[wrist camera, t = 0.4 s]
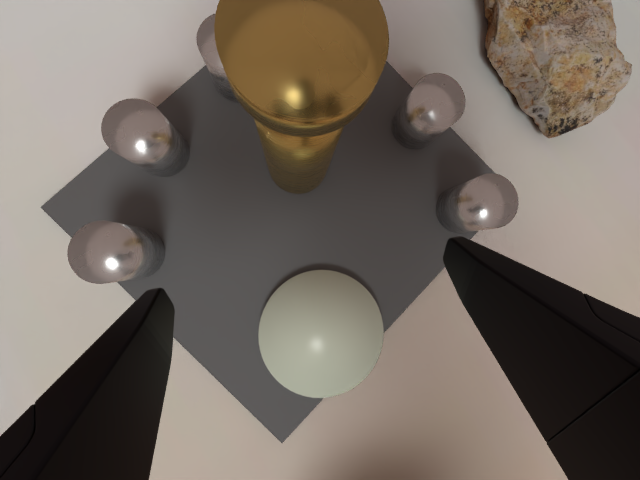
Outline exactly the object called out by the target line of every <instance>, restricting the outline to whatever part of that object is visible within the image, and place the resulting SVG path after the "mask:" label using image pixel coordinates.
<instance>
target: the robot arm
mask: <svg viewBox="0 0 640 480" xmlns="http://www.w3.org/2000/svg"><path fill="white" fill-rule="evenodd" d="M443 262H444V265H445V267H446V269H447V271H448V274H449V276H450V278H451V280H452V282H453V284H454V287H455V289H456V291H457V293H458V295H459V297H460V299H461V301H462V303H463V305H464V307H465V308H466V310H467V312H468V313H469V315H470V317H471V318H472V320H473V322H474V323H475V325H476V327H477V328H478V330H479V332H480V333H481V335H482V337H483V338H484V340H485V342H486V343H487V345H488V347H489V348H490V350H491V351H492V353H493V355H494V356H495V358H496V360H497V361H498V363H499V365H500V366H501V368H502V370H503V371H504V373H505V375H506V376H507V378H508V380H509V381H510V383H511V385H512V386H513V388H514V390H515V391H516V393H517V395H518V396H519V398H520V400H521V401H522V403H523V405H524V406H525V408H526V410H527V411H528V413H529V414H530V416H531V418H532V419H533V421H534V423H535V424H536V426H537V428H538V429H539V431H540V433H541V434H542V436H543V438H544V439H545V441H546V442H547V445H548V446H549V448H550V450H551V451H552V453H553V455H554V456H555V458H556V460H557V461H558V463H559V465H560V466H561V468H562V470H563V471H564V473H565V475H566V476H567V478H568V480H640V318H639V317H636V316H634V315H632V314H629V313H627V312H625V311H622V310H620V309H618V308H616V307H613V306H611V305H609V304H607V303H605V302H602V301H600V300H598V299H596V298H594V297H592V296H589V295H587V294H583V293H582V292H581V291H579V290H576V289H574V288H572V287H570V286H568V285H566V284H564V283H561V282H559V281H557V280H555V279H553V278H551V277H549V276H546V275H544V274H542V273H540V272H538V271H536V270H534V269H531V268H529V267H527V266H525V265H523V264H521V263H519V262H516V261H514V260H512V259H510V258H508V257H506V256H504V255H501V254H499V253H497V252H495V251H493V250H491V249H489V248H486V247H484V246H482V245H480V244H478V243H476V242H474V241H471V240H469V239H467V238H465V237H463V236H457V237H452V238H449V239H448V240H447V243H446V247H445V251H444V254H443ZM174 317H175V308H174V305H173V303H172V301H171V300H170V298H169V296H168V295H167V293H166V291H165V290H164V289H163V288H154V289H149V290H147V291H145V292H144V293H143V294H142V295H141V296H140V297H139V298H138V299H137V300H136V301H135V302H134V303H133V304H132V305H131V306H130V307H129V308H128V309H127V310H126V311H125V312H124V313H123V314H122V315H121V316H120V317H119V318H118V319H117V320H116V321H115V322H114V323H113V324H112V325H111V326H110V327H109V328H108V329H107V330H106V331H105V332H104V333H103V334H102V335H101V336H100V337H99V338H98V339H97V340H96V341H95V342H94V343H93V344H92V345H91V346H90V347H89V348H88V349H87V350H86V351H85V352H84V353H83V354H82V355H81V356H80V357H79V358H78V359H77V360H76V361H75V362H74V363H73V364H72V365H71V366H70V367H69V368H68V369H67V370H66V371H65V372H64V373H63V374H62V375H61V376H60V377H59V378H58V379H57V380H56V381H55V382H54V383H53V384H52V385H51V387H50V388H49V389H48V390H47V391H46V392H45V393H44V394H43V395H42V396H41V397H40V398H39V399H38V400H37V401H36V402H35V404H34V405H31V406H30V407H29V408H28V409H27V410H26V411H25V412H24V413H23V414H22V415H21V416H20V417H19V418H18V419H17V420H16V421H15V422H14V423H13V424H12V425H11V426H10V427H9V428H8V429H7V430H6V431H5V432H4V433H3V434H2V435H1V436H0V480H149V475H150V470H151V465H152V460H153V454H154V449H155V444H156V439H157V433H158V428H159V423H160V418H161V412H162V407H163V402H164V397H165V391H166V386H167V381H168V375H169V370H170V365H171V358H172V346H173V331H174Z"/></svg>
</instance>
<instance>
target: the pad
mask: <svg viewBox="0 0 640 480" xmlns="http://www.w3.org/2000/svg"><path fill="white" fill-rule="evenodd" d="M383 335H384V330H383V321H382V316H381V313H380V310H379V307H378V305H377V303H376V301H375V300H374V298H373V297H372V295H371V294H370V293H369V291H368V290H367V289H366V288H365V287H364V286H363V285H362V284H360V283H359V282H358V281H356V280H355V279H353V278H351V277H349V276H347V275H345V274H342V273H339V272H336V271H331V270H312V271H307V272H304V273H301V274H298V275H296V276H294V277H292V278H290V279H289V280H287V281H286V282H284V283H283V284H282V285H281V286H280V287H279V288H278V289H277V290H276V291H275V292H274V293H273V294H272V296H271V297H270V299H269V300H268V302H267V304H266V306H265V308H264V310H263V313H262V316H261V319H260V324H259V333H258V338H259V347H260V352H261V355H262V358H263V361H264V363H265V365H266V367H267V369H268V370H269V372H270V373H271V374H272V376H273V377H274V378H275V379H276V380H277V381H278V382H279V383H280V384H281V385H283V386H284V387H285V388H287V389H289V390H290V391H292V392H294V393H297V394H299V395H302V396H306V397H312V398H327V397H333V396H337V395H340V394H343V393H345V392H347V391H349V390H351V389H353V388H354V387H356V386H357V385H358V384H360V383H361V382H362V381H363V380H364V379H365V378H366V377H367V376H368V374H369V373H370V372H371V371H372V369H373V368H374V366H375V364H376V362H377V360H378V358H379V356H380V352H381V349H382V344H383Z"/></svg>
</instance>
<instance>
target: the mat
mask: <svg viewBox="0 0 640 480" xmlns="http://www.w3.org/2000/svg"><path fill="white" fill-rule="evenodd" d="M412 90H413V88H412V87H411V86H410V85H409V84H408V83H407V82H406V81H405V80H404V79H403V78H402V77H401V76H400V75H399V74H398V73H397V72H396V71H395V70H394V69H393V68H392V67H391V65H390V64H389V63H388V62H387V61H386V63H385V66H384V69H383V71H382V73H381V75H380V77H379V79H378V81H377V84H376V86H375V88H374V90H373V92H372V94H371V96H370V98H369V100H368V102H367V104H366V105H365V107H364V108H363V110H362V111H361V112H360V113H359V114H358V115H357V116H356V117H355V118H354V119H353V120H352V121H351V122H349V123H348V124H347V125H345V126H344V128H343V131H342V133H341V136H340V138H339V141H338V143H337V146H336V149H335V151H334V154H333V156H332V159H331V162H330V164H329V167H328V169H327V172H326V174H325V177H324V179H323V181H322V182H321V183H320V185H319V186H318V187H316V188H315V189H314V190H312V191H310V192H307V193H303V194H294V193H289V192H287V191H285V190H283V189H281V188H280V187H279V186H277V185H276V183H275V182H274V181H273V179H272V177H271V175H270V172H269V169H268V166H267V162H266V159H265V155H264V152H263V148H262V145H261V141H260V138H259V134H258V131H257V127H256V124H255V120H254V118H253V117H252V116H251V115H249V114H248V113H247V112H246V110H245V109H244V108H243V107H242V106H241V105H240V103H238V102H232V101H230V100H228V99H226V98H224V97H223V96H222V95H221V94H220V93H219V91H218V90H217V88H216V86H215V84H214V81H213V79H212V77H211V75H210V73H209V70H208V68H207V66H204V67H203V68H202V69H201V70H200V71H199V72H197V73H196V74H195V75H194V76H193V77H192V78H190V79H189V80H188V81H187V82H186V83H185V84H183V85H182V86H181V87H180V88H179V89H178V90H176V91H175V92H174V93H173V94H172V95H171V96H170V97H168V98H167V99H166V100H165V101H164V102H163V103H161V104H160V105H159V106H158V107H157V109H158V110H159V111H160V112H161V113H162V114H163V115H164V116H165V117H166V118H167V119H168V121H169V122H170V123H171V124H172V125H173V126H174V127H175V128H176V129H177V130H178V131H179V133H180V134H181V135H182V136H183V137H184V138H185V139H186V141H187V143H188V145H189V150H190V156H189V160H188V163H187V164H186V166H185V167H184V168H183V170H181V171H180V172H179V173H177V174H175V175H173V176H169V177H159V176H155V175H153V174H151V173H149V172H147V171H145V170H144V169H142V168H140V167H139V166H137V165H135V164H133V163H132V162H130V161H128V160H127V159H125V158H123V157H121V156H120V155H118V154H116V153H115V152H113V151H112V150H111V149H110V148H109V149H108V150H107V151H106V152H104V153H103V154H102V155H101V156H100V157H99V158H97V159H96V160H95V161H94V162H93V163H92V164H90V165H89V166H88V167H87V168H86V169H85V170H83V171H82V172H81V173H80V174H79V175H78V176H76V177H75V178H74V179H73V180H72V181H71V182H70V183H68V184H67V185H66V186H65V187H64V188H63V189H61V190H60V191H59V192H58V193H57V194H56V195H54V196H53V197H52V198H51V199H50V200H49V201H47V202H46V203H45V204H44V205H43V206H42V207H41V208H42V209H43V210H44V211H45V212H46V213H47V214H48V215H49V216H50V217H51V218H52V219H53V220H54V221H55V222H56V223H57V224H58V225H59V226H60V227H61V228H62V229H63V230H64V231H65V232H66V233H67V234H68V235H70V236H71V237H73V235H74V234H75V233H76V232H77V231H78V230H79V229H80V228H81V227H83V226H84V225H86V224H88V223H91V222H94V221H111V222H116V223H121V224H126V225H131V226H137V227H142V228H147V229H150V230H152V231H154V232H155V233H156V234H158V235H159V237H160V238H161V239H162V241H163V243H164V246H165V259H164V262H163V264H162V266H161V267H160V268H159V269H158V270H157V271H156V272H155V273H154V274H152V275H150V276H148V277H145V278H140V279H133V280H126V281H119V282H118V283H119V284H120V285H121V286H122V287H123V288H124V289H125V290H126V291H127V292H128V293H129V294H130V295H131V296H132V297H133V298H134V299H135V300H137V299H138V298H139V297H140V296H141V295H142V294H143V293H144V292H145V291H147V290H149V289H154V288H163V289H164V290H165V291H166V293H167V295H168V296H169V298H170V300H171V301H172V303H173V305H174V308H175V317H174V331H173V337H174V338H175V339H176V340H177V341H178V342H179V343H180V344H181V345H182V346H183V347H184V348H185V349H186V350H187V351H188V352H189V353H190V354H191V355H192V356H193V357H194V358H195V359H196V360H197V361H198V362H199V363H200V364H201V365H203V366H204V367H205V368H206V369H207V370H208V371H209V372H210V373H211V374H212V375H213V376H214V377H215V378H216V379H217V380H218V381H219V382H220V383H221V384H222V385H223V386H224V387H225V388H226V389H227V390H228V391H229V392H230V393H231V394H232V395H233V396H234V397H235V398H236V399H237V400H238V401H239V402H240V403H241V404H242V405H243V406H244V407H245V408H247V409H248V410H249V411H250V412H251V413H252V414H253V415H254V416H255V417H256V418H257V419H258V420H259V421H260V422H261V423H262V424H263V425H264V426H265V427H266V428H267V429H268V430H269V431H270V432H271V433H272V434H273V435H274V436H275V437H276V438H277V439H278V440H279V441H280V442H281V443H283V442H284V441H285V439H286V438H287V437H288V436H289V435H290V434H291V433H292V432H293V431H294V430H295V429H296V428H297V426H298V425H299V424H300V423H301V422H302V421H303V420H304V419H305V418H306V417H307V416H308V415H309V413H310V412H311V411H312V410H313V409H314V408H315V407H316V406H317V405H318V404H319V403H320V402H321V400H322V399H323V398H312V397H306V396H302V395H299V394H297V393H294V392H292V391H290V390H289V389H287V388H285V387H284V386H283V385H281V384H280V383H279V382H278V381H277V380H276V379H275V378H274V377H273V376H272V374H271V373H270V372H269V370H268V369H267V367H266V365H265V363H264V361H263V358H262V355H261V352H260V347H259V338H258V333H259V324H260V319H261V316H262V313H263V310H264V308H265V306H266V304H267V302H268V300H269V299H270V297H271V296H272V294H273V293H274V292H275V291H276V290H277V289H278V288H279V287H280V286H281V285H282V284H283V283H284V282H286V281H287V280H289V279H290V278H292V277H294V276H296V275H298V274H301V273H304V272H307V271H312V270H331V271H336V272H339V273H342V274H345V275H347V276H349V277H351V278H353V279H355V280H356V281H358V282H359V283H360V284H362V285H363V286H364V287H365V288H366V289H367V290H368V291H369V293H370V294H371V295H372V297H373V298H374V300H375V301H376V303H377V305H378V307H379V310H380V313H381V316H382V321H383V330H384V332H385V331H386V330H387V329H388V328H389V327H390V326H391V325H392V324H393V322H394V321H395V320H396V319H397V318H398V317H399V316H400V315H401V314H402V313H403V312H404V311H405V309H406V308H407V307H408V306H409V305H410V304H411V303H412V302H413V301H414V300H415V299H416V298H417V296H418V295H419V294H420V293H421V292H422V291H423V290H424V289H425V288H426V287H427V286H428V285H429V283H430V282H431V281H432V280H433V279H434V278H435V277H436V276H437V275H438V274H439V273H440V272H441V270H442V269H443V268H444V267H445V265H444V262H443V254H444V251H445V247H446V243H447V240H448V239H449V238H452V237H457V236H463V237H465V238H467V239H469V240H470V239H471V238H472V237H473V236H474V235H475V234H476V233H477V231H472V232H465V233H454V232H450V231H448V230H447V229H445V228H444V227H443V226H442V225H441V224H440V222H439V220H438V218H437V214H436V204H437V201H438V199H439V197H440V196H441V195H442V194H443V193H444V192H445V191H447V190H449V189H451V188H453V187H455V186H458V185H460V184H462V183H465V182H467V181H469V180H472V179H474V178H476V177H478V176H481V175H483V174H488V173H493V174H495V173H494V172H493V171H492V170H491V169H490V168H489V167H488V166H487V165H486V164H485V163H484V162H483V161H482V159H481V158H480V157H479V156H478V155H477V154H476V153H475V152H474V151H473V150H472V149H471V148H470V147H469V146H468V145H467V144H466V143H465V142H464V141H463V140H462V139H461V138H460V137H459V136H458V135H457V134H456V133H455V132H454V131H453V130H452V128H451V127H449V128H448V129H447V130H445V131H444V132H443V133H442V134H441V135H439V136H438V137H437V138H436V139H435V140H433V141H432V142H431V143H430V144H429V145H427V146H426V147H424V148H421V149H409V148H406V147H404V146H402V145H401V144H400V143H399V142H398V141H397V140H396V139H395V137H394V135H393V132H392V120H393V117H394V115H395V114H396V112H397V111H398V109H399V108H400V106H401V105H402V104H403V102H404V101H405V99H406V98H407V97H408V95H409V94H410V92H411V91H412Z"/></svg>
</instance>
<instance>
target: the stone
mask: <svg viewBox="0 0 640 480" xmlns="http://www.w3.org/2000/svg"><path fill="white" fill-rule="evenodd" d="M484 8H485V17H486V18H487V19H488V31H487V34H486V40H485V48H486V49H487V57H489V60H490V62H491V64H492V65H493V67H494V68H495V69H496V71H497V72H498V74H499V76H500V77H501V79H502V80H503V84H504V86H505V87H508V89H509V90H510V92H511V93H512V94H514V95H515V97H516V99H517V102H518V104H519V106H520V108H521V109H522V110H523V111H524V112H525V113H526V114H527V115H529V116H531V117H533V119H534V121H535V122H534V123H536V124H537V125H538V126H539V129H540V130H541V132H542V133H543V135H545V136H546V137H548V138H552V137H557V136H559V135H561V134H564V133H566V132H569V131H571V130H573V129H576V128H578V127H581V126H583V125H586V124H588V123H589V122H591V121H592V120H593V119H594V118H596V117H597V116H598V115H600V114H601V113H603V112H605V111H607V110H608V109H609V107H610V106H611V105H612V104H613V103H614V101H615V97H616V94H617V93H618V92H619V91H620V90H622V89H623V88H624V87H625V86H626V84H627V83H628V80H629V78H630V75H631V66H632V64H630V63H628V62H627V61H625V60H624V55H623V54H622V53H621V52H620V50H619V49H618V48H617V45H616V26H615V23H614V19H613V8H612V3H611V0H484Z"/></svg>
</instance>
